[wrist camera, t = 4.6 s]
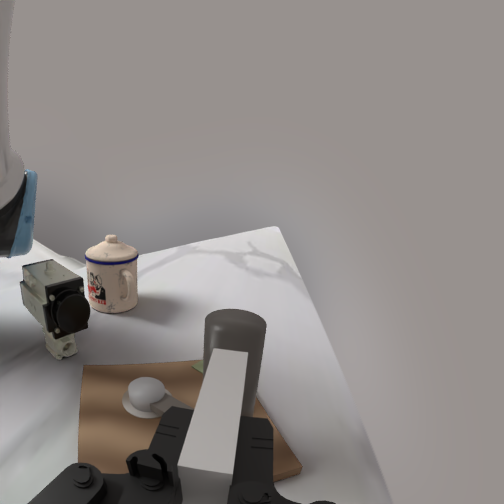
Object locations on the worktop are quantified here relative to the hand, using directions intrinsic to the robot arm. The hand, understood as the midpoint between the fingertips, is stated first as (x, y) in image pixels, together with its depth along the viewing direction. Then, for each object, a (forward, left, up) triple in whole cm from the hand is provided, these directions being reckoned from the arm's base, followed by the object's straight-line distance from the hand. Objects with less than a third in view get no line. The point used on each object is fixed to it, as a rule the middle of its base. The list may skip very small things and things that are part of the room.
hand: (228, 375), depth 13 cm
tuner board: (-11, -1, -14) cm, 18 cm away
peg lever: (-10, 0, -13) cm, 16 cm away
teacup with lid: (-38, -6, -15) cm, 41 cm away
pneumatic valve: (-24, -14, -15) cm, 32 cm away
